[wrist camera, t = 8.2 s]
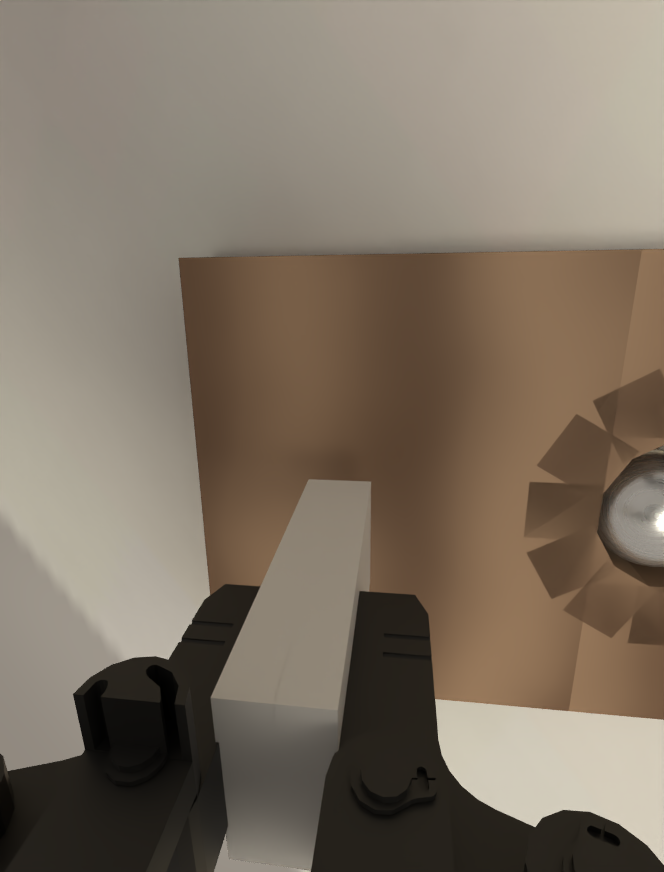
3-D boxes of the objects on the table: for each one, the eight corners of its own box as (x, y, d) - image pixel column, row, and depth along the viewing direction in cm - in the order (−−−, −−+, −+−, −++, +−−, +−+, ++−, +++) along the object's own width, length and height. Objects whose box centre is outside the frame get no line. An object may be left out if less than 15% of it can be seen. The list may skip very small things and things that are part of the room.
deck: (239, 632, 20) (218, 679, 18) (211, 261, 16) (178, 257, 14) (793, 675, 18) (855, 737, 15) (927, 249, 13) (1040, 242, 11)
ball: (584, 451, 17) (579, 451, 14) (708, 447, 15) (731, 446, 13) (590, 552, 17) (586, 573, 14) (715, 558, 15) (740, 584, 12)
